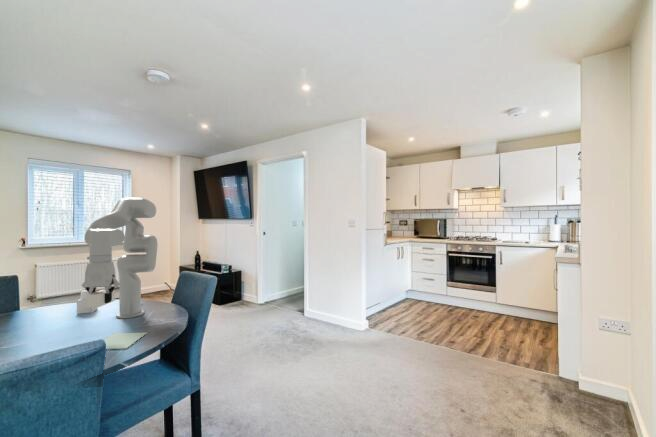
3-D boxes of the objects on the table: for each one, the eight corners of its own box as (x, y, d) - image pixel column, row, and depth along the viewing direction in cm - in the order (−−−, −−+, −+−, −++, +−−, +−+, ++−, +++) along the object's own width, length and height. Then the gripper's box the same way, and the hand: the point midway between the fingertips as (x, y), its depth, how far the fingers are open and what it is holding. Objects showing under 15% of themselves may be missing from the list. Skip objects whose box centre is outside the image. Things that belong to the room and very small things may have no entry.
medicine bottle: (82, 310, 173) (82, 288, 173) (97, 309, 175) (97, 287, 175) (76, 314, 166) (76, 291, 166) (92, 312, 169) (92, 290, 168)
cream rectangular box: (86, 307, 126) (86, 294, 126) (102, 300, 136) (102, 289, 136) (99, 307, 126) (99, 294, 126) (114, 300, 136) (114, 288, 136)
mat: (113, 335, 136) (113, 333, 136) (147, 333, 137) (147, 332, 137) (88, 350, 120) (88, 349, 120) (126, 349, 121) (126, 347, 121)
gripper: (72, 260, 127) (73, 305, 127) (116, 260, 128) (116, 304, 128) (86, 258, 135) (86, 300, 134) (127, 257, 135) (127, 299, 135)
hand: (101, 302), depth 131 cm, fingers closed on cream rectangular box, 5 cm apart
